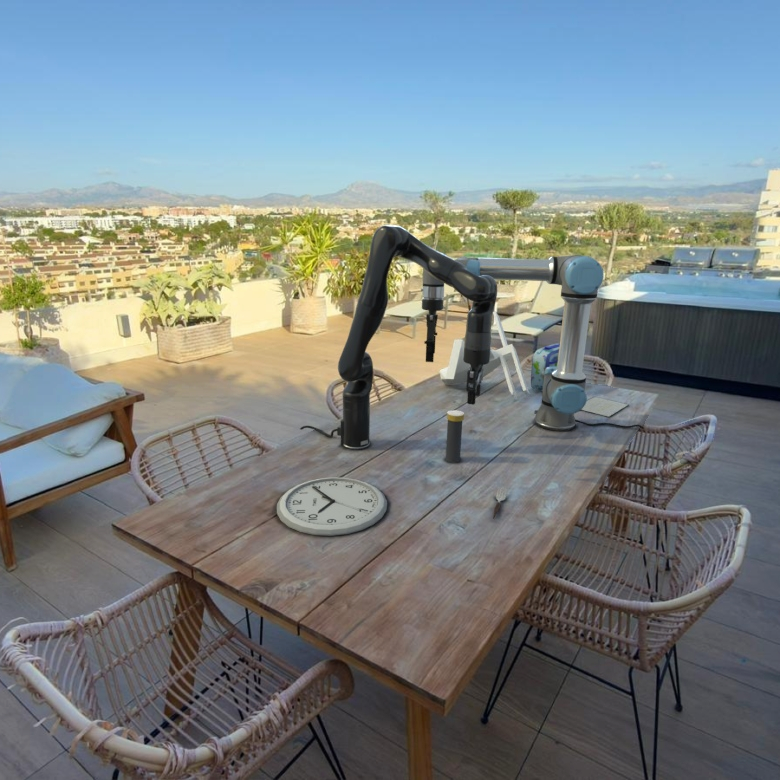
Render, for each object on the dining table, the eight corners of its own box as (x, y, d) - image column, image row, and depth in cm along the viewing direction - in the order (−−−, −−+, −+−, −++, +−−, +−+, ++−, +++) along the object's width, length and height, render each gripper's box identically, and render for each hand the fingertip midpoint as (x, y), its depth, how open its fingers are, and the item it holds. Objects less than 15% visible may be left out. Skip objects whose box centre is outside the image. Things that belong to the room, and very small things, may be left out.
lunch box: (547, 395, 239) (552, 351, 233) (526, 390, 247) (530, 347, 240) (574, 384, 257) (579, 343, 251) (554, 380, 264) (558, 339, 258)
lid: (467, 420, 167) (467, 414, 166) (452, 422, 164) (453, 416, 164) (457, 414, 171) (457, 409, 171) (443, 417, 169) (443, 411, 168)
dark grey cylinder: (462, 461, 171) (465, 415, 166) (450, 464, 169) (453, 417, 164) (454, 455, 175) (457, 411, 170) (442, 458, 173) (445, 413, 168)
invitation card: (608, 416, 214) (573, 407, 224) (608, 416, 214) (573, 408, 224) (628, 404, 229) (594, 396, 238) (628, 405, 229) (594, 397, 238)
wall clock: (392, 527, 129) (268, 531, 127) (391, 533, 130) (269, 537, 127) (383, 473, 158) (282, 475, 155) (383, 478, 158) (282, 480, 156)
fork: (488, 519, 137) (488, 512, 136) (497, 492, 151) (498, 485, 151) (498, 521, 136) (498, 514, 135) (507, 493, 150) (507, 487, 150)
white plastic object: (461, 429, 252) (437, 405, 227) (444, 352, 274) (420, 323, 250) (535, 404, 240) (518, 377, 215) (510, 326, 262) (492, 293, 237)
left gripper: (468, 340, 158) (465, 391, 163) (459, 350, 145) (456, 405, 150) (493, 342, 156) (489, 394, 161) (486, 352, 143) (482, 408, 148)
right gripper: (424, 293, 195) (422, 349, 202) (419, 302, 172) (417, 365, 178) (444, 294, 195) (441, 350, 201) (442, 303, 171) (439, 366, 177)
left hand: (473, 399), depth 155 cm, fingers open, 8 cm apart
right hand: (430, 357), depth 190 cm, fingers open, 13 cm apart
